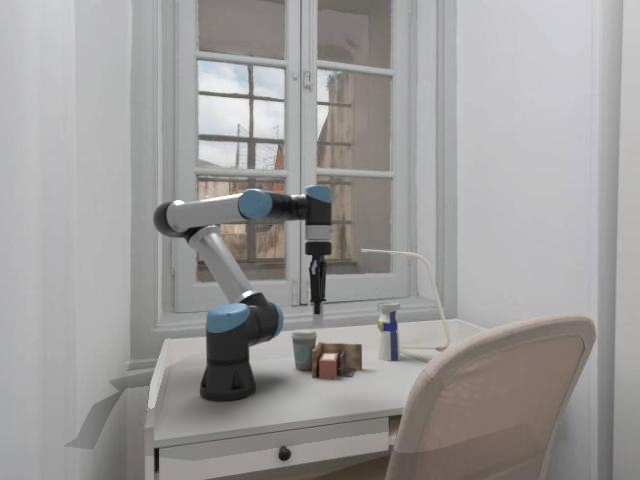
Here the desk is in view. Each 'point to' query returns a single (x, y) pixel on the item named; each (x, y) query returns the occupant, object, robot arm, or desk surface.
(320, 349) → the shelf
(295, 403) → the desk surface
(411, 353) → the desk surface
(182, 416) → the desk surface
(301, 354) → the coffee cup
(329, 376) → the red box
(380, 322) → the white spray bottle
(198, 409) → the desk surface
